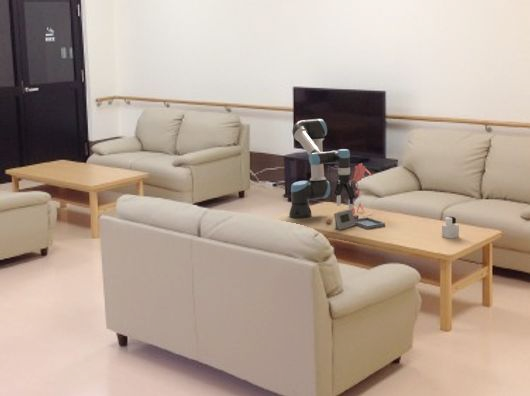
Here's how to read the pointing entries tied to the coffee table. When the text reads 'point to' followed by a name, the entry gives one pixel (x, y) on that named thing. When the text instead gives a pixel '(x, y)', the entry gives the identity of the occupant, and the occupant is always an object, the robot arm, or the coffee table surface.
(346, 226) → the digital clock
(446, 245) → the coffee table surface
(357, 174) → the figurine
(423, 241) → the coffee table surface
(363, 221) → the tray
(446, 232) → the medicine bottle
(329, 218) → the terracotta ball
